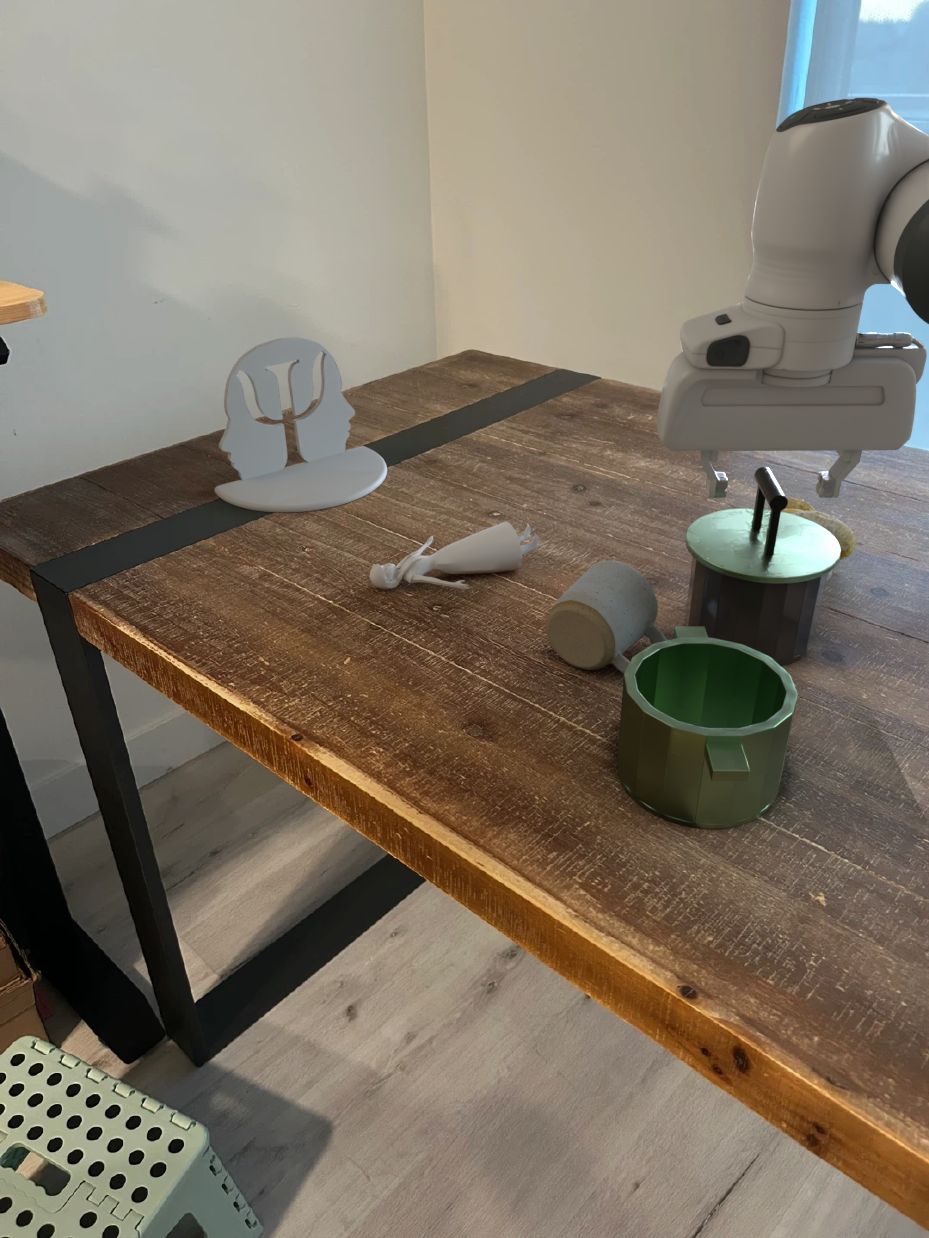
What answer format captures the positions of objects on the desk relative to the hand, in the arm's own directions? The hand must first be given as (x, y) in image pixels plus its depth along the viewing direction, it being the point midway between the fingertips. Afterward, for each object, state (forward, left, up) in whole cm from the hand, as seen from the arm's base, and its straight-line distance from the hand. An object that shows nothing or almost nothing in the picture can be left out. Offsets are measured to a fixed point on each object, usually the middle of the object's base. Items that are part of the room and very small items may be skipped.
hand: (770, 495), depth 84 cm
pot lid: (0, 0, -5) cm, 5 cm away
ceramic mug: (+13, +4, -14) cm, 20 cm away
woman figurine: (+28, -11, -14) cm, 33 cm away
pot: (+8, +20, -14) cm, 26 cm away
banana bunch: (-8, -14, -14) cm, 22 cm away
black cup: (0, 0, -14) cm, 14 cm away
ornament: (+46, -33, -14) cm, 58 cm away
